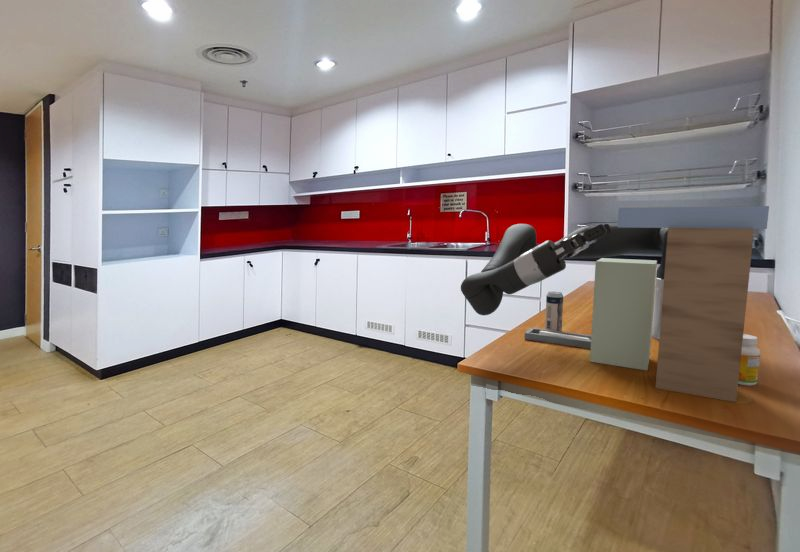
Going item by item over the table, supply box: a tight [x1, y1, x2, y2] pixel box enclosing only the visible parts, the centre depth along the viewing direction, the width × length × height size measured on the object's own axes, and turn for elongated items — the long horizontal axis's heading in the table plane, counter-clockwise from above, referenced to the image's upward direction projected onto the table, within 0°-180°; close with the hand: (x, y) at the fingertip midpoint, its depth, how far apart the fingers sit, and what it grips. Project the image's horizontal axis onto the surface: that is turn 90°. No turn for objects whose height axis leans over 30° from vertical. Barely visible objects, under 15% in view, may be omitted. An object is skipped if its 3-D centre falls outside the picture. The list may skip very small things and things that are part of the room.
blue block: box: [616, 205, 770, 230], centre depth 86 cm, size 4×24×4 cm, turn 58°
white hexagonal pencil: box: [539, 331, 591, 341], centre depth 122 cm, size 3×2×16 cm
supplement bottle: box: [738, 333, 761, 386], centre depth 92 cm, size 5×5×10 cm
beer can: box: [544, 291, 564, 332], centre depth 132 cm, size 5×5×12 cm
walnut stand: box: [655, 228, 755, 403], centre depth 87 cm, size 8×13×32 cm, turn 58°
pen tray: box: [524, 327, 591, 350], centre depth 122 cm, size 7×22×2 cm, turn 58°
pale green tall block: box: [589, 257, 658, 371], centre depth 105 cm, size 10×12×24 cm
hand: (607, 227), depth 93 cm, fingers open, 8 cm apart
